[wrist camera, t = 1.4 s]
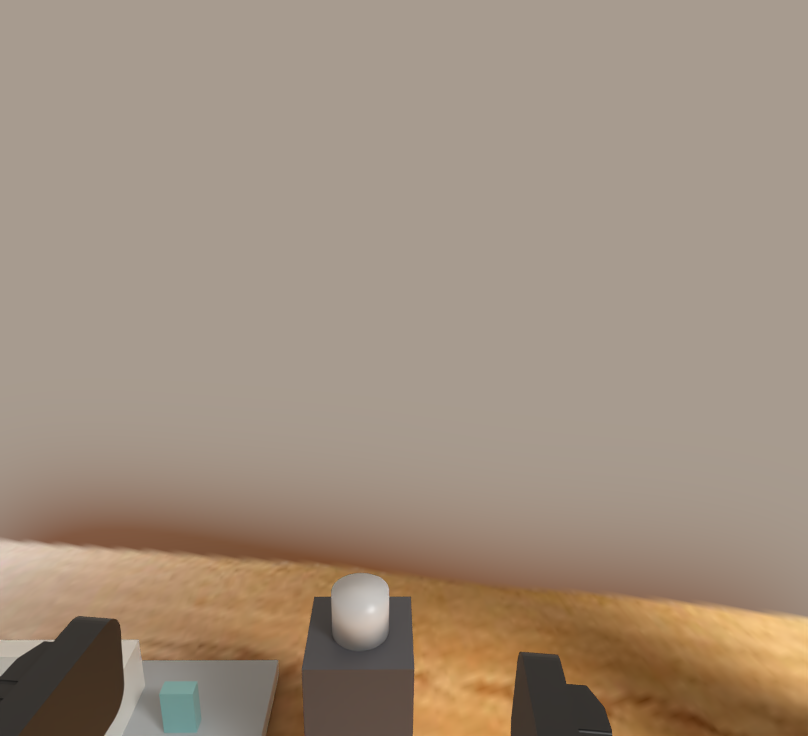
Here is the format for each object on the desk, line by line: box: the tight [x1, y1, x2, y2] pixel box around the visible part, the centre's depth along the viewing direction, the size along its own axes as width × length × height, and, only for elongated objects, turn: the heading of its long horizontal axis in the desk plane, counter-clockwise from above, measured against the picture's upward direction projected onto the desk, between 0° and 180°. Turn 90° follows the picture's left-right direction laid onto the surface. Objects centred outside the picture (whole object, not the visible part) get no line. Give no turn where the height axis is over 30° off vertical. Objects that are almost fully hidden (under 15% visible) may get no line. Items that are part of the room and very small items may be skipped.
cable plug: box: [302, 573, 414, 736], centre depth 28 cm, size 4×4×11 cm
